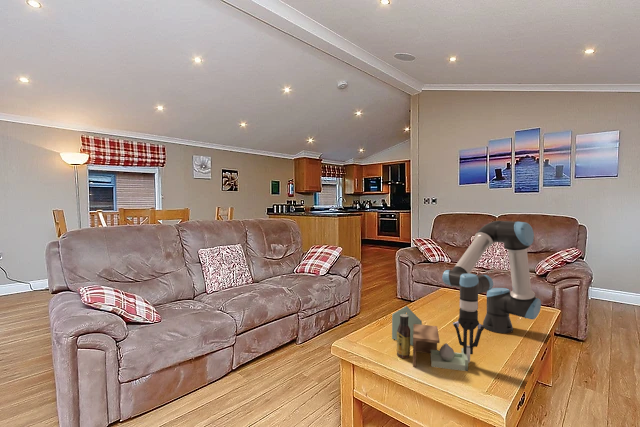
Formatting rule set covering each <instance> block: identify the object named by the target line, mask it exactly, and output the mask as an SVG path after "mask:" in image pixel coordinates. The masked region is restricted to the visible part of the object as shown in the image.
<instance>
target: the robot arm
mask: <svg viewBox="0 0 640 427" xmlns="http://www.w3.org/2000/svg"><path fill="white" fill-rule="evenodd" d="M534 238H535V233H534V230H533V227H532V226H531V224H529V222H525V221H519V220H518V221H514V220H512V221H511V220H493V221H491V222H488V223H487V224H485V225H483V226H482V227H481V228H480V229H479V230H477V231H476V233H475V235H474V239H473V241H472V242H471V244H470V245H469V246H468V247H467V249H466V250H465V252H464V253H463V254H462V256H460V258H459V260H458V261H457V263H456V264H455V265H454V266H453V268H452V269H446V270H444V271H443V273H442V276H441V277H442V282H443V283H444V284H445V285H447V286H450V287H456V288H459V314H458V315H459V317H458V319H457V321H453V322H452V325H453V327H454V328H455V332H456V336H457V339H458V343H459V345H460V346H462V348H463V352H464V354H466V355H467V358H468V363H471V356H472V355H474V348H478V345H479V343H480V339H481V336H482V332H483V331H484V330H487V331H489V332H493V333H496V334H497V333H498V334H509V333H513V331H514V330H513V329H514V328H513V324H512V320H511V317H510V315H513V316H517V317H521V318H524V319H529V320H535V319H536V318H537V317H538V316H539V314H540V312H541V308H542V300H541V299H540V298H538V297H536V293H535V291H534V290H532V285H531V282H532V281H531V276H530V275H531V274H530V273H531V272H530V266H529V256H528V249H529V248H530V247H531V245H532V244H533V243H534V240H535V239H534ZM495 243H501V244H503V248H504V250H506V251H507V253H508V254H507V255H508V261H509V270H510V276H511V277H510V278H511V287H512V290H510V289H509V288H506V287H494V280H493V279H492V277H490V276H489V275H488V274H479V275H478V274H475V273H472V271H473V269H474V268H475V266H476V265H477V263H479V262H478V261H479V260H480V259H481V257H482V256H483V254H485V252H486V251H487V249H488V248H489V247H491V246H492V245H493V244H495ZM483 293H486V313H485V316H484V319H483V322H482V323H480V322H479V320H478V319H479V318H478V317H479V315H478V314H479V311H478V310H479V295H480V294H483ZM459 327H461V328H462V330H463V333H462V334H463V336H461V332H460V329H459ZM476 328H477V330H476V334H475V338H474V330H475V329H476ZM468 331H469V334H468ZM468 335H469V338H468ZM462 338H463V339H462ZM468 339H469V340H468ZM468 342H469V344H468Z"/></svg>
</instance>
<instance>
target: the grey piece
mask: <svg viewBox="0 0 640 427" xmlns="http://www.w3.org/2000/svg"><path fill="white" fill-rule="evenodd" d="M400 314H407V315H408V316H409V319H408V326H409V328H410V346H412V347H413V326H414V324H419V325H423V323H422V320H421V319H420V317H418V316H417V315H416V314H415V313H414V312H413V311H412V310H411V308H409V306H407V305H405V306H404V307H402V308H400V309H398V310H397V311H395V312H393V313H392V314H391V317H392V318H391V322H392V323H391V340H392V339H395V340H397V330H398V327H399V324H400ZM395 340H394V341H395Z"/></svg>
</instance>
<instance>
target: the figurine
mask: <svg viewBox="0 0 640 427" xmlns="http://www.w3.org/2000/svg"><path fill="white" fill-rule="evenodd" d="M439 354H440V356H441V358H442V359H443V360H445V361H451V360H452V359H453V358H454V349H453V348H452V347H451V346H450V345H449V344H448V343H444V344H443V345H442V346H441V347H440V348H439Z"/></svg>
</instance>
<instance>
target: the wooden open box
mask: <svg viewBox="0 0 640 427" xmlns="http://www.w3.org/2000/svg"><path fill="white" fill-rule="evenodd" d="M440 342H441V341H440V335H439V331H438V326H437V325H429V324H428V325H427V324H426V325H425V324H422V325H419V324H414V326H413V346H412V368H416V367H417V353H423V354H424V353H425V354H430V349H431V350H438V344H440Z"/></svg>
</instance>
